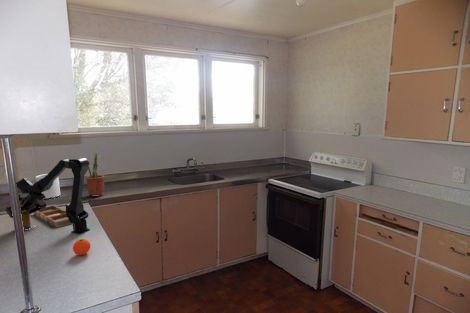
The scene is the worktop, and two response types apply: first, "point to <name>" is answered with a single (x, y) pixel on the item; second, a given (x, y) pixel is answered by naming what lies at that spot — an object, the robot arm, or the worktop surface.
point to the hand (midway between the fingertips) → (21, 216)
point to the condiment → (26, 220)
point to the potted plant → (95, 180)
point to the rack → (53, 216)
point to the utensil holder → (54, 188)
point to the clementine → (81, 246)
